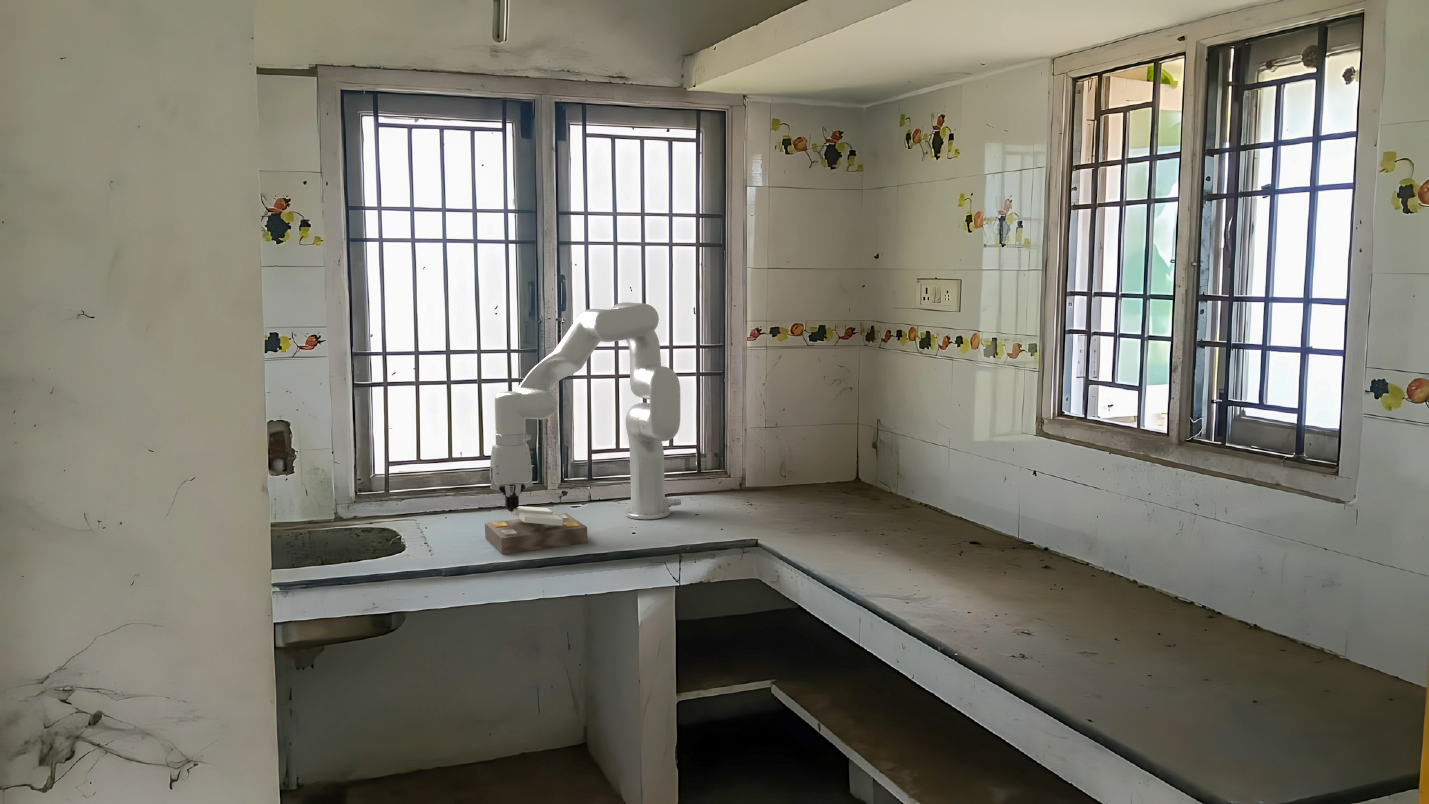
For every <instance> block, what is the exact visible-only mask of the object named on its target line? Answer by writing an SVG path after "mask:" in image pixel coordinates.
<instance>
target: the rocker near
mask: <svg viewBox="0 0 1429 804" xmlns="http://www.w3.org/2000/svg"><path fill="white" fill-rule="evenodd" d="M518 519H520V520H522V521H523V522H526V523H537V524H549V525H560V526H562V525H563V519H561V518H560V517H558V516H555V514H552V515H544V514H533V513H522V512H520V513H519V516H518Z"/></svg>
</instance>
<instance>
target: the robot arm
mask: <svg viewBox="0 0 1429 804" xmlns="http://www.w3.org/2000/svg"><path fill="white" fill-rule="evenodd" d="M659 321H660V318H659V314H658V311H657V310H656V308H655V307H653V306H652V305H650V304H647V303H642V302H619V303H616V304H614V305H613V306H612V307H611V308H610V309H608V308H607V309H605V308H604V309H603V308H602V309H600V308H589V309H588V308H587V309H586V310H583V311H582V312H581V313H580V314H579V315H578V316H577V317H576V319H575V320H574V322H573V323H572V325H570V328H569V329H568V330H567V332H566V334H565V335H564V336H563V338H562V339H561V340H560V342H559V343H558V345H557V346H556V347H555V349H554V350H553V351H552V352H551V353H549V354H548V355H547V356H545V357H544V358H543V359H542V360H541V361H539V363H538V364H536V365H535V366H534V367H533V368H532V369H531V370H530V371H529V372H528V374H527V375H526V376H525V378H524V379H523V380H522V381H521V383H520V384H519V386H518V387H517V389H516V391H512V390H511V391H501V392H497V393H496V395H495V397H494V412H495V413H494V415H495V416H494V417H495V420H494V421H495V444H494V445H492V447H491V452H490V462H489V463H490V464H489V468H490V469H489V481H490V489H491V490H494V491H500V492H501V493H502V494H503V495H504V501H505V509H507V511H508V512H509V511H510V512H509V513H511V512H512V511H513V508H514V509H517V507H519V506H520V502H519V501H520V499H519V497H520V495H521V493H522V492H523V491H524V490H525V489H528V488H531V487H533V485H534V484H533V483H534V482H533V480H532V479H533V466H532V458H531V453H530V447H529V444H527V441H529V440H532V435H531V434H528V433H527V432H526V420H528V419H529V420H547V419H549V418H551V417H552V416H554V414H556V411H557V410H558V400H557V398H556V397H555V395H554V394H553V393H551V392H550V391H549V390H550V389H551V388H552V387H553V386H554V385H555V384H556V383H558V382H559V381H561V380H562V379H564V378H567V377H569V376H572V375H574V374H575V373H577V372H579V371H580V370H582V368H583V367H584V365H585V364H586V362H587V361H588V359H589V358H590V357H591V355H592V353H593V352H594V351H595V349H596V348H597V347H598V345H599V343H601V342H603V343H613V342H619V341H626V343H627V346H628V350H629V386H630V389H631V392H632V394H634V396H636V397H638V398H642V399H644V400H645V399H646V400H649V403H648V402H640V403H637V404H634V405H633V406H631V407H630V408H629V409H628V411H627V412H626V417H625V428H626V433H627V438H628V446H629V447H628V449H629V471H630V473H629V475H630V476H629V477H630V481H629V482H630V507H629V508H627V509H626V510H625V516H626V517H628V518H631V519H635V520H656V519H658V520H659V519H662V518H667V517H668V516H670V515H671V509H670V508H671V507H674V506H676V507H677V506H681V505H682V500H681V498H679V497H678V498H672V497H671V498H668V497H666V496H665V495H666V494H665V493H666V492H665V490H666V488H665V453H664V452H665V451H664V446H663V442H668V441H670V440H672V439H674V438H675V437H676V436H677V434H678V432H679V429H680V427H681V385H680V384H681V383H680V379H679V377H678V375H677V373H676V372H675V371H674V370H673V369H671V368H669V367H667V366H663V365H662V362H661V361H662V360H661V358H662V357H661V344H660V341H659V337H658V335H657V333H656V329H657V327H658V325H659ZM511 485H513V488H512V493H511V487H510V486H511Z"/></svg>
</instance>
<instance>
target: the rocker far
mask: <svg viewBox="0 0 1429 804" xmlns="http://www.w3.org/2000/svg"><path fill="white" fill-rule="evenodd" d="M508 512H509V513H510V514H512V515H513V516H518V517H519V513H520V512H522V513H533V514H544V515H553V511H552V510H551V509H549V508H548V507H542V506H541V507H539V506H538V507H537V506H536V507H535V506H523V505H521V506H520V505H519V507H517V509H514V508H513V511H512V512H510V511H508Z"/></svg>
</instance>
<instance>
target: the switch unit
mask: <svg viewBox="0 0 1429 804" xmlns="http://www.w3.org/2000/svg"><path fill="white" fill-rule="evenodd" d="M554 515H555V516H558V517H560V518H561V519H563V525H562V526H560V525H549V524H537V523H526V522H523V521H522V520H520V519H519V518H515V519H508V520H500V521H492V522H484V535H485V536H484V537H485V540H486V541H487V542H489V543H490V544H491V545H492V546H493V548H495V549H496V550H497V551H498V552H499V553H500V554H501V555H507V554H513V553H521V552H529V551H533V550H534V551H535V550H542V549H543V550H544V549H549V548H557V547H558V548H559V547H564V546H566V547H567V546H573V545H579V544H587V543H588V542H589V540H588V527H587V525H585V524H583V523H582V522H580V521H579V520H577V519H576V518H575V517H573V516H571V515H570V514H568V513H567V512H565V513H557V514H556V513H555V514H554Z"/></svg>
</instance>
